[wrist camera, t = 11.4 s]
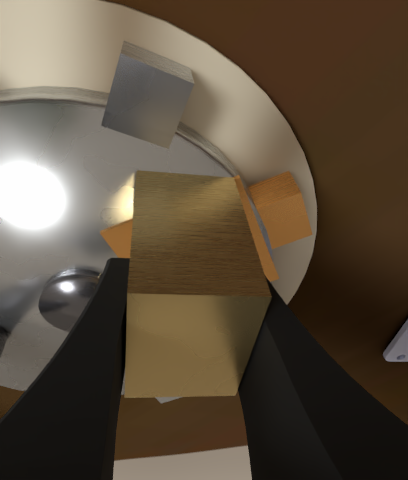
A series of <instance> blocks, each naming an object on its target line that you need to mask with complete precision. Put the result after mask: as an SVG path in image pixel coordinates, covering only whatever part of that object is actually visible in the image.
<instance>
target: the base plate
mask: <svg viewBox="0 0 408 480" xmlns="http://www.w3.org/2000/svg"><path fill="white" fill-rule="evenodd" d="M124 40H125V41H128V42H130V43H133V44H135V45H137V46H140V47H142V48H144V49H147V50H149V51H151V52H154V53H156V54H158V55H161V56H163V57H166V58H168V59H170V60H173V61H175V62H177V63H180V64H182V65H184V66H187V67H189V68H190V69H191V73H192V77H193V81H194V86H193V88H192V91H191V93H190V96H189V98H188V101H187V104H186V106H185V109H184V111H183V114H182V116H181V119H180V122H182V123H183V124H185V125H187V126H188V127H190V128H192V129H193V130H195V131H196V132H198V133H199V134H200V135H202V136H203V137H204V138H205V139H206V140H208V141H209V142H210V143H211V144H213V145H214V146H215V147H216V148H218V149H219V150H220V152H221V153H222V154H223V155H224V156H225V157H226V158H227V159H228V160H229V161H230V162H231V163H232V164H233V165H234V167H235V168H236V169H237V171H238V172H239V173H240V175H241V176H242V178H243V179H244V181H245V182H246V184H247V185H248V186H251V185H253V184H256V183H258V182H261V181H263V180H266V179H268V178H271V177H274V176H276V175H279V174H281V173H284V172H286V171H289V172H290V173H291V175H292V177H293V179H294V181H295V182H296V184H297V186H298V188H299V190H300V191H301V194H302V198H303V201H304V205H305V208H306V212H307V216H308V219H309V223H310V227H311V230H312V234H313V235H310V236H308V237H305V238H302V239H299V240H296V241H294V242H291V243H288V244H285V245H282V246H280V247H277V248H274V249H272V256H273V263H274V266H275V268H276V271H277V274H278V276H279V279H277V280H274V281H272V285H273V287H274V288H275V290H276V291H277V292H278V294H279V295H280V296H281V297H282V298H283V300H284V302H285V303H286V304H288V303H289V302H290V300H291V299H292V297H293V296H294V294H295V293H296V291H297V289H298V287H299V285H300V284H301V282H302V280H303V278H304V276H305V274H306V271H307V268H308V265H309V262H310V259H311V256H312V253H313V249H314V243H315V237H316V231H317V203H316V196H315V190H314V184H313V179H312V176H311V173H310V170H309V167H308V164H307V161H306V158H305V155H304V152H303V150H302V148H301V146H300V144H299V143H298V141H297V139H296V137H295V135H294V133H293V131H292V129H291V127H290V125H289V124H288V122H287V121H286V120H285V118H284V117H283V116H282V114H281V113H280V111H279V110H278V109H277V107H276V106H275V105H274V103H273V102H272V101H271V99H270V98H269V97H268V95H267V94H266V93H265V92H264V91H263V90H262V89H261V88H260V87H259V86H258V85H257V84H256V83H255V82H254V81H253V80H252V79H251V78H250V77H249V76H248V75H247V74H246V73H245V72H244V71H243V70H242V69H241V68H240V67H239V66H238V65H236V64H235V63H234V62H232V61H231V60H230V59H228V58H227V57H226V56H224V55H223V54H222V53H220V52H219V51H217V50H216V49H215V48H213V47H212V46H211V45H209V44H208V43H207V42H205V41H203V40H201V39H200V38H198V37H196V36H194V35H192V34H190V33H189V32H187V31H185V30H183V29H181V28H179V27H178V26H176V25H174V24H172V23H170V22H168V21H166V20H164V19H161V18H158V17H156V16H153V15H150V14H148V13H145V12H142V11H140V10H137V9H134V8H132V7H129V6H126V5H124V4H120V3H115V2H111V1H106V0H0V91H1V90H5V89H12V88H23V87H35V86H55V87H77V88H82V89H88V90H94V91H100V92H105V93H110V90H111V86H112V82H113V79H114V75H115V71H116V67H117V64H118V60H119V56H120V53H121V49H122V45H123V42H124Z"/></svg>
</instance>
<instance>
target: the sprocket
mask: <svg viewBox="0 0 408 480" xmlns="http://www.w3.org/2000/svg"><path fill="white" fill-rule="evenodd" d="M193 86H194V81H193V77H192V73H191V69H190V68H189V67H187V66H184V65H182V64H180V63H177V62H175V61H173V60H170V59H168V58H166V57H163V56H161V55H158V54H156V53H154V52H151V51H149V50H147V49H144V48H142V47H140V46H137V45H135V44H133V43H130V42H128V41H125V40H124V42H123V45H122V49H121V53H120V56H119V60H118V64H117V67H116V71H115V75H114V79H113V82H112V86H111V90H110V93H105V92H100V91H94V90H88V89H82V88H77V87H55V86H35V87H23V88H12V89H5V90H1V91H0V385H1V386H4V387H8V388H12V389H17V390H22V391H26V390H27V388H28V387H29V386H30V385H31V384H32V383H33V381H34V380H35V379H36V378H37V376H38V375H39V374H40V373H41V371H42V370H43V369H44V367H45V366H46V365H47V364H48V362H49V361H50V360H51V358H52V357H53V356H54V354H55V353H56V351H57V350H58V349H59V347H60V346H61V344H62V343H63V341H64V340H65V338H66V337H67V335H68V334H69V332H70V331H71V329H72V328H73V326H74V325H75V323H76V322H77V320H78V318H79V317H80V315H81V313H82V312H83V310H84V308H85V306H86V305H87V303H88V301H89V299H90V298H91V296H92V294H93V292H94V290H95V288H96V286H97V284H98V282H99V280H100V278H101V276H102V273H103V271H104V268H105V265H106V262H107V260H108V259H110V258H130V250H131V237H132V224H133V211H134V199H135V186H136V173H137V170H141V171H154V172H167V173H179V174H192V175H205V176H218V177H231V178H234V180H235V183H236V186H237V189H238V192H239V195H240V198H241V202H242V205H243V208H244V211H245V214H246V217H247V221H248V224H249V227H250V230H251V233H252V236H253V239H254V243H255V246H256V249H257V252H258V255H259V258H260V262H261V265H262V268H263V271H264V274H265V276H266V277H267V279H268V280H269V281H270V283H271V284H272V281H274V280H277V279H279V276H278V274H277V271H276V268H275V266H274V263H273V256H272V249H274V248H277V247H280V246H282V245H285V244H288V243H291V242H294V241H296V240H299V239H302V238H305V237H308V236H310V235H313V234H312V230H311V227H310V223H309V219H308V216H307V212H306V208H305V205H304V201H303V198H302V194H301V191H300V190H299V188H298V186H297V184H296V182H295V181H294V179H293V177H292V175H291V173H290V172H289V171H286V172H284V173H281V174H279V175H276V176H274V177H271V178H268V179H266V180H263V181H261V182H258V183H256V184H253V185H251V186H248V185H247V184H246V182H245V181H244V179H243V178H242V176H241V175H240V173H239V172H238V171H237V169H236V168H235V167H234V165H233V164H232V163H231V162H230V161H229V160H228V159H227V158H226V157H225V156H224V155H223V154H222V153H221V152H220V150H219V149H218V148H216V147H215V146H214V145H213V144H211V143H210V142H209V141H208V140H206V139H205V138H204V137H203V136H202V135H200V134H199V133H198V132H196V131H195V130H193V129H192V128H190V127H188V126H187V125H185V124H183V123H182V122H180V119H181V116H182V114H183V111H184V109H185V106H186V104H187V101H188V98H189V96H190V93H191V91H192V88H193ZM281 298H282V297H281ZM282 299H283V298H282ZM124 394H125V373H124V379H123V385H122V392H121V395H124ZM155 398H156V399H157V400H158V401H159V402H160V403H164V402H168V401H171V400H174V399H177V398H181V397H155Z"/></svg>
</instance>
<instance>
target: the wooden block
mask: <svg viewBox="0 0 408 480" xmlns="http://www.w3.org/2000/svg"><path fill="white" fill-rule="evenodd" d="M271 297H272V296H271V293H270V290H269V287H268V284H267V280H266V277H265V274H264V271H263V268H262V265H261V262H260V258H259V255H258V252H257V249H256V246H255V243H254V239H253V236H252V233H251V230H250V227H249V224H248V221H247V217H246V214H245V211H244V208H243V205H242V202H241V198H240V195H239V192H238V189H237V186H236V183H235V180H234V178H231V177H218V176H205V175H192V174H179V173H167V172H154V171H141V170H137V173H136V186H135V199H134V211H133V224H132V237H131V250H130V263H129V276H128V289H127V322H126V363H125V398H143V397H191V396H235V395H236V392H237V390H238V387H239V384H240V381H241V379H242V376H243V373H244V371H245V368H246V365H247V363H248V360H249V357H250V354H251V352H252V349H253V346H254V344H255V341H256V338H257V335H258V333H259V330H260V327H261V325H262V322H263V319H264V316H265V314H266V311H267V308H268V306H269V303H270V300H271Z"/></svg>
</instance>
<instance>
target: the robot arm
mask: <svg viewBox="0 0 408 480" xmlns="http://www.w3.org/2000/svg"><path fill="white" fill-rule="evenodd" d="M129 263H130V258H110V259H108V260H107V262H106V265H105V268H104V271H103V273H102V276H101V278H100V280H99V282H98V284H97V286H96V288H95V290H94V292H93V294H92V296H91V298H90V299H89V301H88V303H87V305H86V306H85V308H84V310H83V312H82V313H81V315H80V317H79V318H78V320H77V322H76V323H75V325H74V326H73V328H72V329H71V331H70V332H69V334H68V335H67V337H66V338H65V340H64V341H63V343H62V344H61V346H60V347H59V349H58V350H57V351H56V353H55V354H54V356H53V357H52V358H51V360H50V361H49V362H48V364H47V365H46V366H45V367H44V369H43V370H42V371H41V373H40V374H39V375H38V376H37V378H36V379H35V380H34V381H33V383H32V384H31V385H30V386H29V387H28V388H27V390H26V391H25V392H24V393H23V394H22V396H21V397H20V398H19V399H18V400H17V402H16V403H15V404H14V405H13V406H12V407H11V408H10V409H9V411H8V412H7V413H6V414H5V415H4V416H3V417H2V418H1V419H0V480H113V467H114V453H115V439H116V427H117V418H118V411H119V405H120V398H121V392H122V385H123V379H124V373H125V363H126V322H127V289H128V276H129ZM265 277H266V276H265ZM266 280H267V284H268V287H269V290H270V293H271V296H272V297H271V300H270V303H269V306H268V308H267V311H266V314H265V316H264V319H263V322H262V325H261V327H260V330H259V333H258V335H257V338H256V341H255V344H254V346H253V349H252V352H251V354H250V357H249V360H248V363H247V365H246V368H245V371H244V373H243V376H242V379H241V381H240V384H239V387H238V391H239V396H240V400H241V405H242V409H243V414H244V420H245V425H246V433H247V441H248V449H249V456H250V465H251V474H252V480H408V425H407V424H405V423H404V422H403V421H401V420H400V419H399V418H398V417H397V416H395V415H394V414H393V413H392V412H390V411H389V410H388V409H387V408H386V407H384V406H383V405H382V404H381V403H380V402H379V401H378V400H376V399H375V398H374V397H373V396H372V395H371V394H369V393H368V392H367V391H366V390H365V389H364V388H363V387H361V386H360V385H359V384H358V383H357V382H356V381H355V380H354V379H353V378H352V377H351V376H350V375H349V374H348V373H347V372H346V371H345V370H344V369H343V368H342V367H341V366H340V365H339V364H338V363H337V362H336V361H334V360H333V359H332V357H331V356H330V355H329V354H328V353H327V352H326V351H325V350H324V349H323V348H322V347H321V346H320V344H319V343H318V342H317V341H316V340H315V339H314V338H313V336H312V335H311V334H310V333H309V332H308V331H307V329H306V328H305V327H304V326H303V325H302V323H301V322H300V321H299V320H298V318H297V317H296V316H295V315H294V313H293V312H292V311H291V310H290V308H289V307H288V306H287V304H286V303H285V302H284V300H283V299H282V298H281V296H280V295H279V294H278V292H277V291H276V290H275V288H274V287H273V285H272V284H271V283H270V281H269V280H268V279H267V277H266ZM383 356H384V358H385V360H386V361H389V362H408V319H407V321H406V322H405V323H404V325H403V326H402V328H401V329H400V330H399V332H398V333H397V334H396V336H395V337H394V339H393V340H392V341H391V343H390V344H389V345H388V347H387V348H386V349H385V351H384V352H383Z"/></svg>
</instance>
